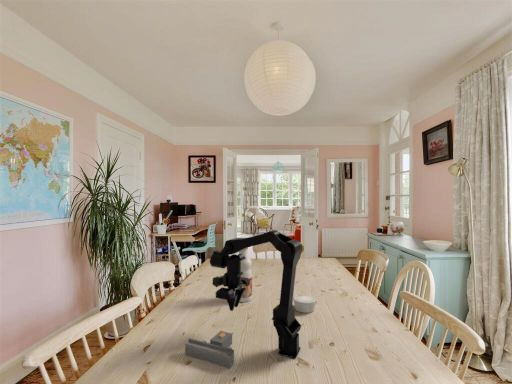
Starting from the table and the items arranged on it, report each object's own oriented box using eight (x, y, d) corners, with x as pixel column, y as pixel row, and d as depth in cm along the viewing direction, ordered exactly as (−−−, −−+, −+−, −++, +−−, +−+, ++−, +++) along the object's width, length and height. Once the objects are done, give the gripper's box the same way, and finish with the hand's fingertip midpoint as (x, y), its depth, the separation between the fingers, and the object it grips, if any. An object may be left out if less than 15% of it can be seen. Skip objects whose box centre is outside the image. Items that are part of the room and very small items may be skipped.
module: (232, 344, 99) (232, 332, 99) (221, 354, 93) (221, 341, 93) (220, 341, 102) (220, 329, 102) (210, 350, 95) (210, 338, 95)
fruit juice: (231, 298, 143) (231, 246, 143) (246, 294, 148) (246, 244, 148) (240, 304, 135) (240, 249, 135) (255, 300, 140) (255, 247, 141)
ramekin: (302, 302, 137) (302, 292, 137) (320, 309, 129) (320, 298, 129) (288, 309, 130) (288, 298, 130) (307, 316, 122) (307, 305, 122)
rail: (239, 356, 91) (239, 343, 91) (230, 368, 85) (230, 354, 85) (196, 345, 98) (196, 332, 98) (185, 355, 92) (185, 341, 93)
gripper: (227, 262, 119) (227, 297, 118) (203, 274, 101) (203, 314, 101) (250, 265, 114) (250, 301, 114) (229, 277, 97) (229, 320, 97)
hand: (233, 308), depth 107 cm, fingers open, 3 cm apart
